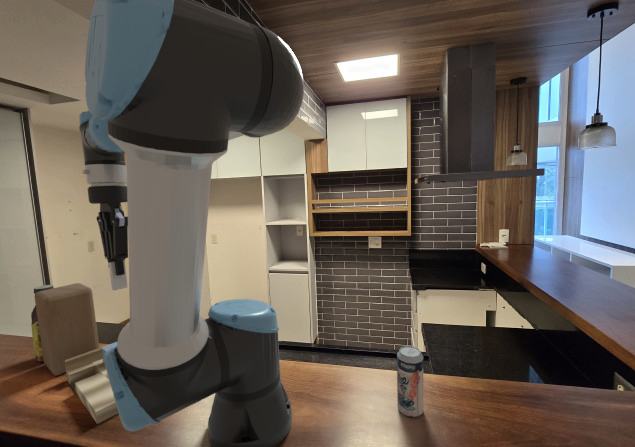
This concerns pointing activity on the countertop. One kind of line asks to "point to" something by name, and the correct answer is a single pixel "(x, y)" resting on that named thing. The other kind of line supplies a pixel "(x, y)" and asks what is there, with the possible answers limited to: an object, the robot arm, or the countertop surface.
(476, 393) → the countertop surface
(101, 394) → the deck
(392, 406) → the countertop surface
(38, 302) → the block
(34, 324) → the sauce bottle
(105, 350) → the cube
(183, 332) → the robot arm
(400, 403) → the beer can
